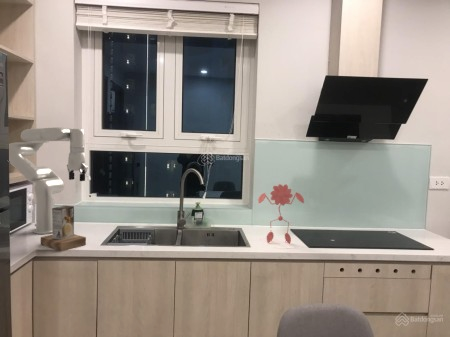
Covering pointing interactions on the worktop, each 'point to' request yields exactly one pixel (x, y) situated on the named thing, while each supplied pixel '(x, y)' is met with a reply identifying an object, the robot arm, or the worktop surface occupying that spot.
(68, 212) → the coffee box
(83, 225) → the worktop surface
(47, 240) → the board
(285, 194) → the pink flower figurine
